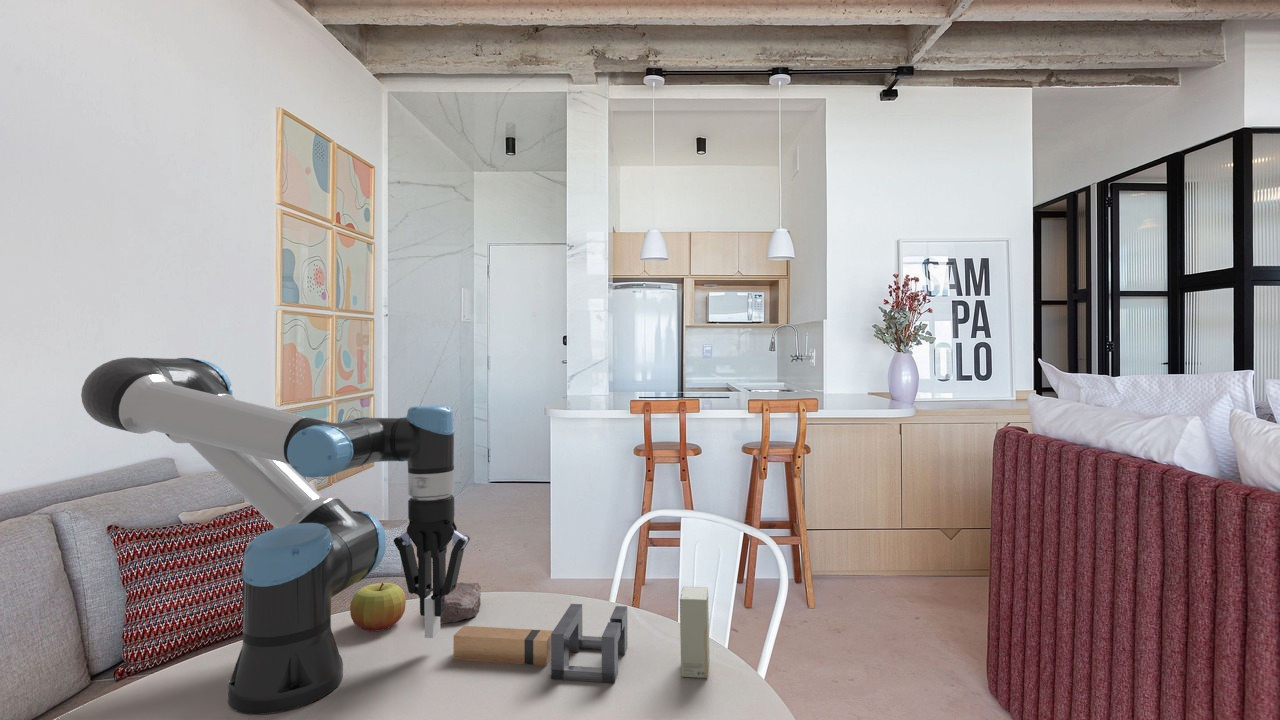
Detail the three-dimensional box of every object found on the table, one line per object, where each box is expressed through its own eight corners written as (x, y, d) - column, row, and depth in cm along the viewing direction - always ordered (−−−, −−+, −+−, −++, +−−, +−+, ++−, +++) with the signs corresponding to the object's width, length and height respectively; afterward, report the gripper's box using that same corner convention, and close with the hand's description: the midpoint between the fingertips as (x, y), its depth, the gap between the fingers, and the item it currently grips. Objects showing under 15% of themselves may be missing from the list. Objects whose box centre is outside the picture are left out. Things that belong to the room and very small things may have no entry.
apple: (416, 618, 120) (416, 577, 120) (385, 639, 110) (385, 594, 110) (372, 614, 122) (372, 573, 122) (337, 634, 113) (338, 590, 113)
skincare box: (708, 679, 96) (707, 600, 96) (679, 677, 96) (679, 599, 96) (709, 660, 102) (709, 586, 102) (682, 658, 102) (682, 585, 103)
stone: (477, 622, 118) (477, 598, 118) (428, 626, 116) (428, 601, 117) (482, 600, 130) (482, 578, 130) (438, 603, 128) (437, 581, 128)
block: (453, 659, 103) (453, 635, 103) (463, 649, 106) (463, 625, 107) (546, 665, 100) (546, 640, 100) (553, 654, 104) (553, 630, 104)
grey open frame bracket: (551, 679, 96) (551, 633, 96) (571, 643, 108) (571, 603, 108) (614, 683, 94) (614, 637, 95) (627, 647, 107) (627, 606, 107)
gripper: (384, 499, 103) (384, 642, 102) (458, 500, 101) (459, 646, 101) (407, 491, 110) (408, 624, 110) (476, 492, 108) (477, 627, 108)
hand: (432, 634), depth 105 cm, fingers closed
